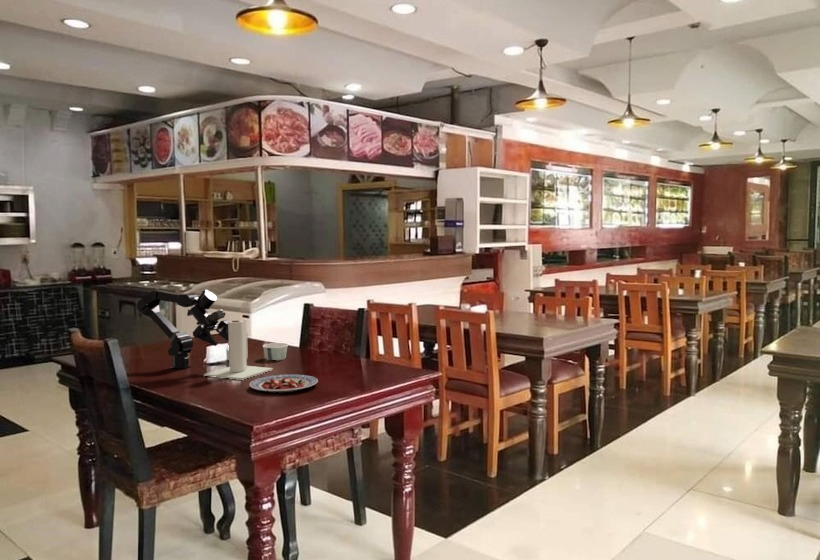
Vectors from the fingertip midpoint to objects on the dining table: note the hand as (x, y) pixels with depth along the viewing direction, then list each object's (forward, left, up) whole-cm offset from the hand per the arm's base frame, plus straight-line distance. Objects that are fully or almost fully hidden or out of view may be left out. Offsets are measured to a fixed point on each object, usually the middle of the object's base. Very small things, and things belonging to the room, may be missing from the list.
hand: (223, 343), depth 264 cm
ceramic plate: (+40, -12, -13) cm, 43 cm away
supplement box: (-12, +23, -13) cm, 29 cm away
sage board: (+8, 0, -12) cm, 15 cm away
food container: (+3, +32, -13) cm, 35 cm away
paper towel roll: (+7, 0, -12) cm, 14 cm away
